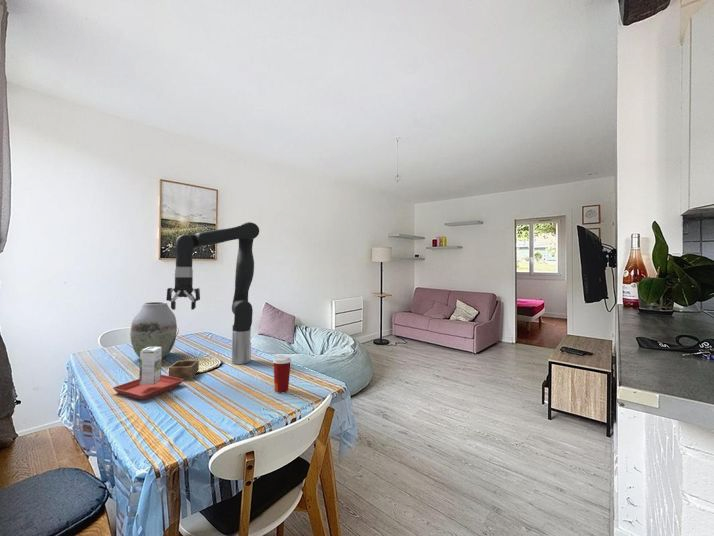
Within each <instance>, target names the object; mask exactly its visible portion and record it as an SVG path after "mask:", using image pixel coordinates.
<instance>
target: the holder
mask: <svg viewBox="0 0 714 536" xmlns="http://www.w3.org/2000/svg"><path fill="white" fill-rule="evenodd" d="M199 363H200V361H199V359H198V360H196V359H195V360H193V359H191V360H189V359H188V360H176V361H175V362H174V363H172V364H171V365H170V366H168V376H171V377H176V378H180V379H183V380H193V378H194V377H195V376H196V375H197V374H196V372H197V371H198V370H199V367H200V366H199ZM198 372H199V371H198ZM195 374H196V375H195Z"/></svg>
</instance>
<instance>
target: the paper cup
mask: <svg viewBox="0 0 714 536" xmlns="http://www.w3.org/2000/svg"><path fill="white" fill-rule="evenodd" d="M272 363H273V381H274V382H273V384H274V385H273V386H274V387H273V388H274V392H275V393H276V392H279V393H278V394H283V393H282V392H285V393H287V392H288V391H289V385H290V375H291V374H290V373H291V363H292V359H291V356H290V355H285V354H284V355H277V356H275V357H274V358H273V360H272ZM286 391H287V392H286Z"/></svg>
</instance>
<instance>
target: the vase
mask: <svg viewBox="0 0 714 536" xmlns="http://www.w3.org/2000/svg"><path fill="white" fill-rule="evenodd" d="M175 315H176V314H175V313H174V312H173V310H172V309H171V307H170V306H169V305H168V303H167V301H149V302H144V303H142V304H141V307H140V308H139V310H137V312H136V313H135V315H134V316H133V318H132V322H131V325H130V330H129V331H130V335H129V336H130V341H131V342H130V343H131V346H132V349H133V350H134V352H135V354H136V355H137V357H138V358H139V359H140V351H141V350H143V349H145V348H147V347H162V357H161V360H162V359H164V358H166V357H167V356H168V355H169V354H170V352H171V351H172V349H173V347H174V345H175V342H176V338H177V332H178V325H177V324H178V323H177V319H176V318H177V317H176V316H175Z"/></svg>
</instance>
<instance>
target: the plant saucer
mask: <svg viewBox="0 0 714 536" xmlns="http://www.w3.org/2000/svg"><path fill="white" fill-rule="evenodd" d="M183 381H184V379H180V378H176V377H171V376H169V375H167V374H165V375H164V374H161V380H160V381H159V382H157V383H156V384H154V385H139V378H137V379H135V380H131V381H129V382H125V383H122V384H119V385H116V386H114V387H112V389H113V390H114V391H115V392H116V393H118V394H119V393H120V394H119V395H124V396H126V397H127V396H128V397H131V398H134V399H138V400H141V401H144V400H147V399H149V398H151V397H154V396H157V395H159V394H161V393H165V392H166V391H169V390H172V389H175V388H177V387H178V386H180V384H182V382H183Z"/></svg>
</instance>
